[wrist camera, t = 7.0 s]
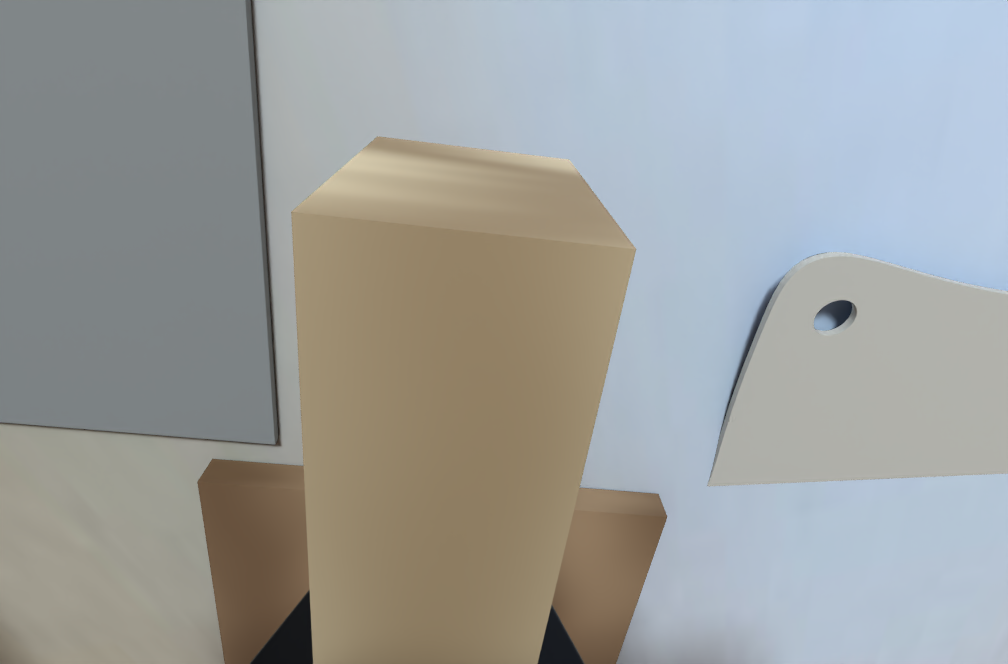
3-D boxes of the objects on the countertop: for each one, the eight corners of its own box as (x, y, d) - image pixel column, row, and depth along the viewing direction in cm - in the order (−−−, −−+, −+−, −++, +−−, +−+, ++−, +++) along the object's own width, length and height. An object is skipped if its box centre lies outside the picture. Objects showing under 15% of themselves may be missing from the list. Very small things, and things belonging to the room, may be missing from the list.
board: (247, 723, 23) (238, 749, 23) (212, 458, 17) (197, 482, 16) (577, 736, 25) (581, 762, 24) (658, 493, 18) (667, 516, 17)
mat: (-84, 408, 16) (-94, 414, 16) (-470, -535, 8) (-502, -554, 8) (278, 438, 17) (275, 444, 17) (225, -392, 9) (217, -405, 9)
